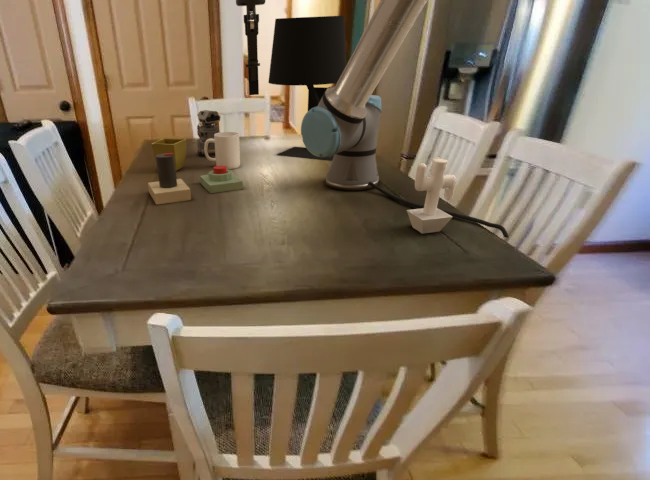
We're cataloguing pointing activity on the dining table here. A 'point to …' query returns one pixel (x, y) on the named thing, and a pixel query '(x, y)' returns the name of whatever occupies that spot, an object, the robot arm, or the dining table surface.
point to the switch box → (221, 182)
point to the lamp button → (220, 169)
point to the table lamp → (308, 59)
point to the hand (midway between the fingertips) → (253, 94)
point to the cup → (225, 149)
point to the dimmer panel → (169, 192)
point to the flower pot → (171, 149)
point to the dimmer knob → (166, 170)
